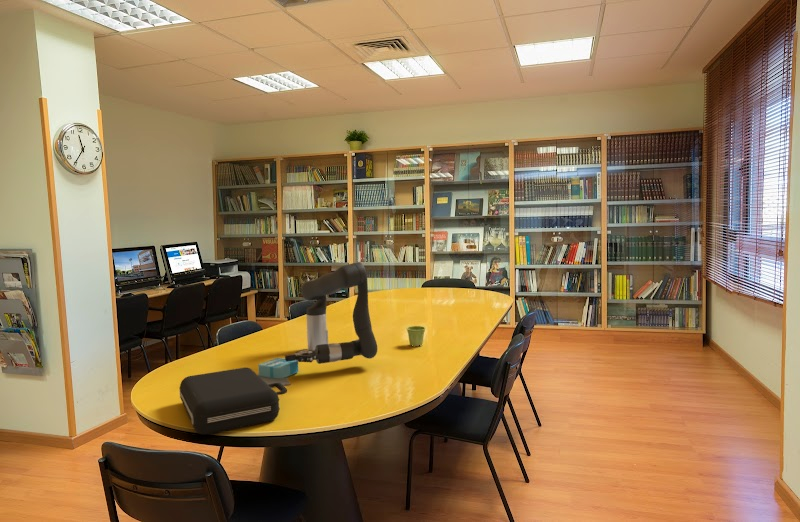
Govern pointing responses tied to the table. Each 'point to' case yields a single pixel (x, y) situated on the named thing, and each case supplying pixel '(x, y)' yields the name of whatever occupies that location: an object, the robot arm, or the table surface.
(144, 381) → the table surface
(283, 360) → the data package
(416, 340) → the plant pot
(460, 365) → the table surface
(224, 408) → the briefcase
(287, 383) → the mat
